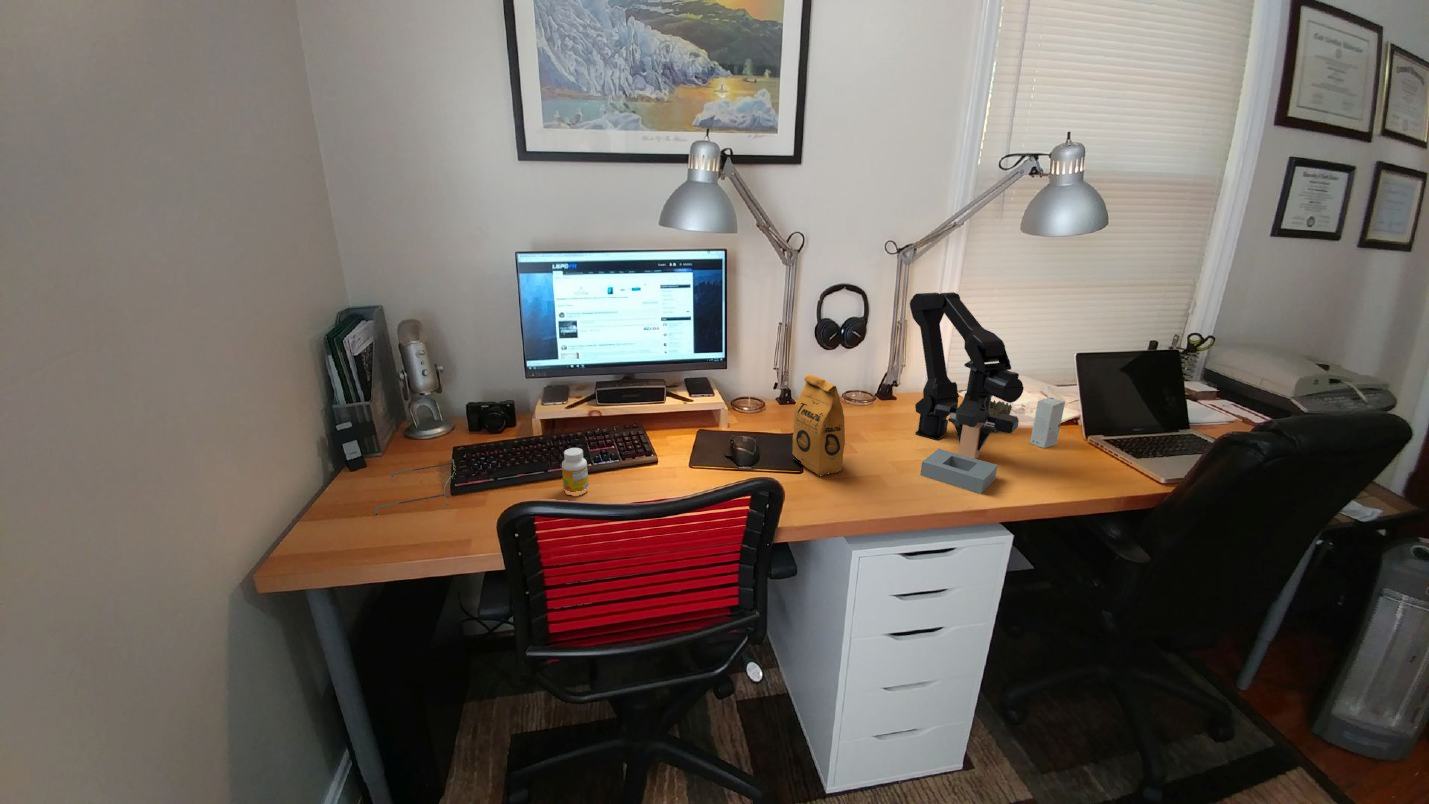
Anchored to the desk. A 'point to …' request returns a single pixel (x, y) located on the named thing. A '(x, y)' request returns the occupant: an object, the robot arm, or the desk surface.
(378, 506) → the eyeglasses
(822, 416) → the coffee package
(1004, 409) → the cup
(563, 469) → the supplement bottle
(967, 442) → the terracotta peg
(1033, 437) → the skincare box
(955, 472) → the socket block
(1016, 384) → the robot arm
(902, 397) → the desk surface
